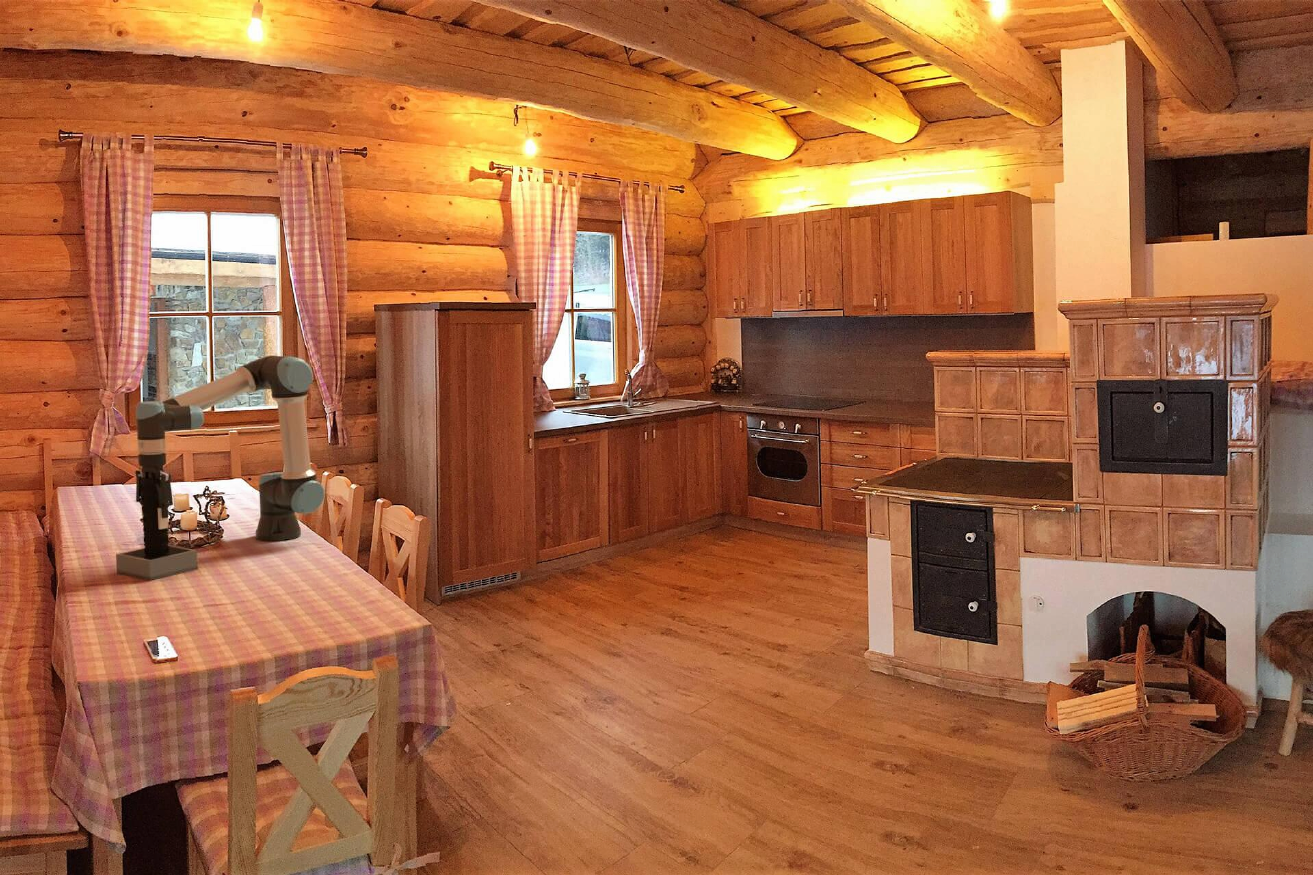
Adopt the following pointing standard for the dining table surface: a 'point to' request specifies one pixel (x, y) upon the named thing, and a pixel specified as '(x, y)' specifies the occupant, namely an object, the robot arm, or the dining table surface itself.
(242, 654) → the dining table surface
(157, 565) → the box
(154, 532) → the handle grip
